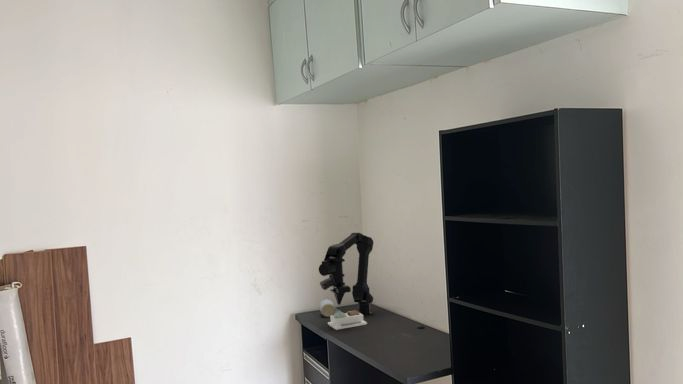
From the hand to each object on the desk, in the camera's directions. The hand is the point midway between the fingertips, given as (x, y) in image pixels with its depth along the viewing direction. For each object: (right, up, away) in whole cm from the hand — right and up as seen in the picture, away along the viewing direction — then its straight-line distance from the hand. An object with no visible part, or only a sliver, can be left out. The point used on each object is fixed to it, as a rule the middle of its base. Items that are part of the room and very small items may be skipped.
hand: (338, 304), depth 263 cm
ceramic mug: (-4, -10, +19) cm, 22 cm away
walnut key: (+7, -7, +3) cm, 11 cm away
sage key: (+1, -8, 0) cm, 8 cm away
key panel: (+4, -10, 0) cm, 10 cm away
